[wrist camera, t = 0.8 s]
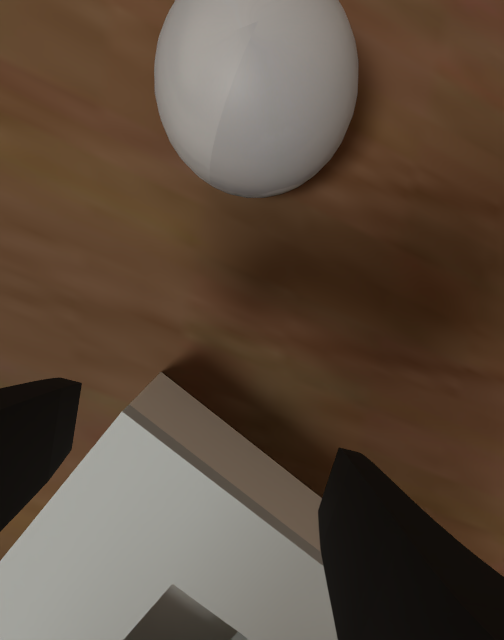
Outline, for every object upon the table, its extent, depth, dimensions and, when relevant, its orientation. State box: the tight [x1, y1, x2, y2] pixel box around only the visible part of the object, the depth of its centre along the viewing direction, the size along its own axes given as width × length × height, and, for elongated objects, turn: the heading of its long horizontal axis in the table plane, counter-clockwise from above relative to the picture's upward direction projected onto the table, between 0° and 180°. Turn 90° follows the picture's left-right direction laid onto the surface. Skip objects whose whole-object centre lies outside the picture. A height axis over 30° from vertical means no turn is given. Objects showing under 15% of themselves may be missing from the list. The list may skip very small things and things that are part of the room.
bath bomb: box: [154, 0, 358, 198], centre depth 14 cm, size 8×8×8 cm
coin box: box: [0, 372, 338, 640], centre depth 18 cm, size 16×16×6 cm
